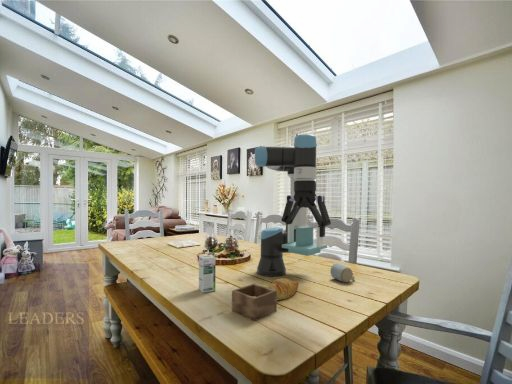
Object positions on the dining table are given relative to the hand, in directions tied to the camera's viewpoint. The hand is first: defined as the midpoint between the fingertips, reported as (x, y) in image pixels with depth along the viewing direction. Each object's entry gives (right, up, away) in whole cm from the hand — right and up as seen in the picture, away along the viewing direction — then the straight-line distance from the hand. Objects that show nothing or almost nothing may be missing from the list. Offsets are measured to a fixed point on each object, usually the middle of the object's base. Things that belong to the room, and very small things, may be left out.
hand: (304, 244), depth 94 cm
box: (-17, -24, +2) cm, 29 cm away
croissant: (-6, -24, +18) cm, 31 cm away
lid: (0, -3, 0) cm, 3 cm away
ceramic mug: (+26, -25, +39) cm, 53 cm away
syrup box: (-37, -24, +23) cm, 50 cm away
